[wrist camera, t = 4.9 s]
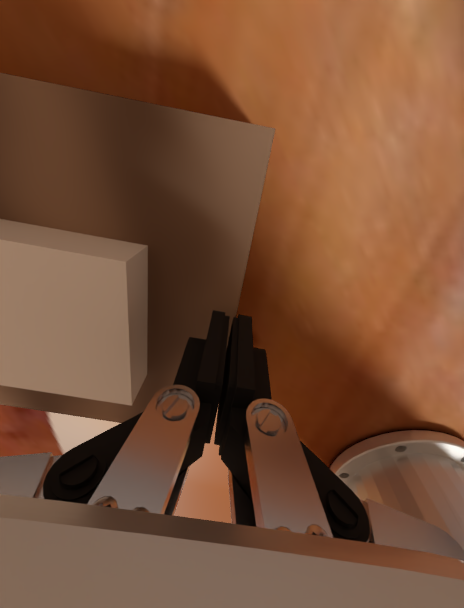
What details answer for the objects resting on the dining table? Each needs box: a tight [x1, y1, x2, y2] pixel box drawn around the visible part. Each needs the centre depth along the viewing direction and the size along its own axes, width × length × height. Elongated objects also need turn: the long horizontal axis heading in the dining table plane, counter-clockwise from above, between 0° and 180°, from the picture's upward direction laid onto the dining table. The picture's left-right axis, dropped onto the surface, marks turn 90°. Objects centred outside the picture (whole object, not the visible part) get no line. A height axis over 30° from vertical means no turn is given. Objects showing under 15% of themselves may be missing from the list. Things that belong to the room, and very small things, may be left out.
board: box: [0, 73, 275, 423], centre depth 13 cm, size 20×16×4 cm
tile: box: [0, 219, 148, 406], centre depth 10 cm, size 8×7×2 cm
